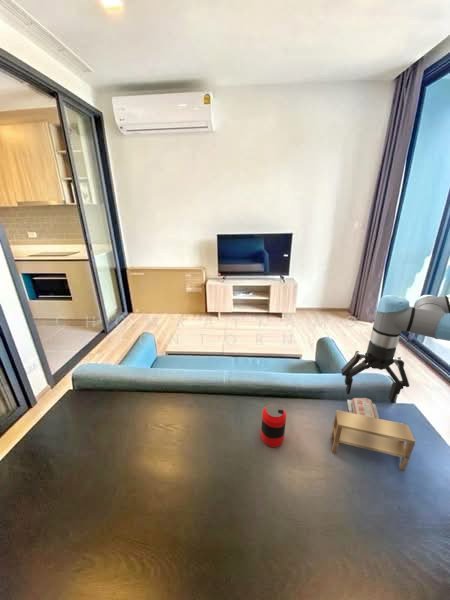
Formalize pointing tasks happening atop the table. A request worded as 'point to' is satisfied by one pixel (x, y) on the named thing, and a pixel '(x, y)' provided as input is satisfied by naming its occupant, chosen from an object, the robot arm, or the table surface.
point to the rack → (373, 435)
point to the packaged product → (362, 407)
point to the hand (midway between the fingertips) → (368, 396)
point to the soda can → (273, 425)
